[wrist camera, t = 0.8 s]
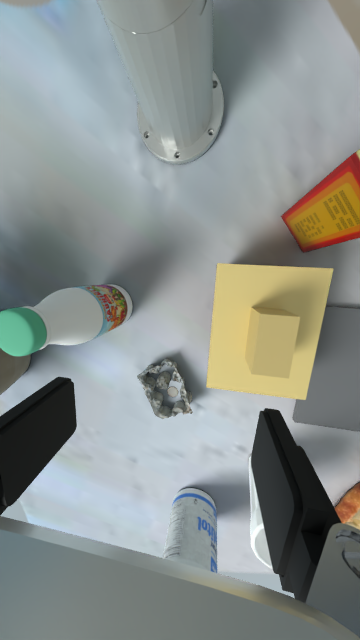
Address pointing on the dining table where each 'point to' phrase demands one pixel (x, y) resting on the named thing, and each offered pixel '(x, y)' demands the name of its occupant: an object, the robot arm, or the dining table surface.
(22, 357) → the plant pot
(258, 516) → the cup
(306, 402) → the mat
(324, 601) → the robot arm
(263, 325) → the lid
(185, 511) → the supplement tub
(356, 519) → the slice of bread
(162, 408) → the egg carton
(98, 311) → the milk bottle
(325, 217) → the baking soda box
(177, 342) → the dining table surface
